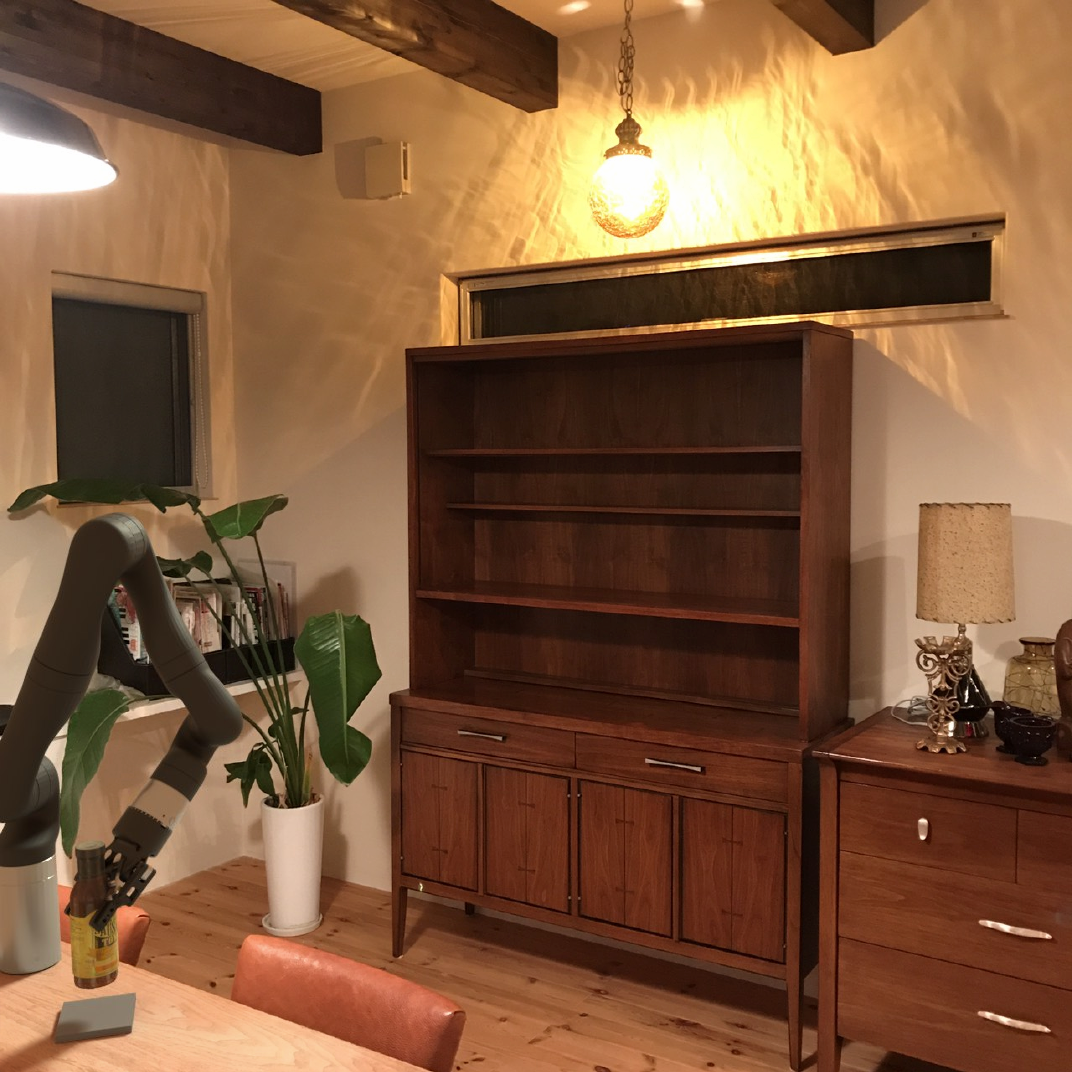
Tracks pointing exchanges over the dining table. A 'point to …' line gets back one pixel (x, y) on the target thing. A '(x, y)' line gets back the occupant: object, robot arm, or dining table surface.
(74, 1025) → the rubber mat
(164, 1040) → the dining table surface
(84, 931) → the sauce bottle
